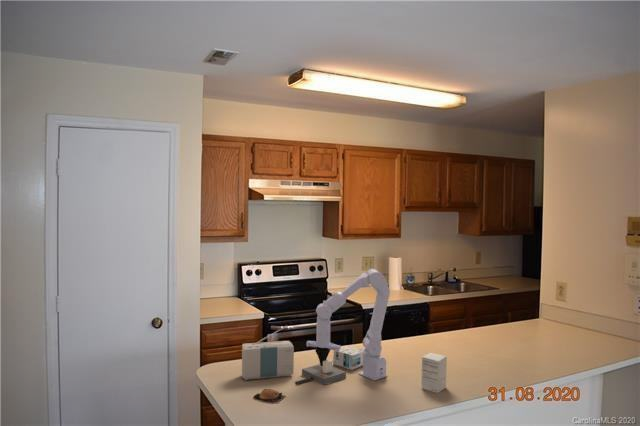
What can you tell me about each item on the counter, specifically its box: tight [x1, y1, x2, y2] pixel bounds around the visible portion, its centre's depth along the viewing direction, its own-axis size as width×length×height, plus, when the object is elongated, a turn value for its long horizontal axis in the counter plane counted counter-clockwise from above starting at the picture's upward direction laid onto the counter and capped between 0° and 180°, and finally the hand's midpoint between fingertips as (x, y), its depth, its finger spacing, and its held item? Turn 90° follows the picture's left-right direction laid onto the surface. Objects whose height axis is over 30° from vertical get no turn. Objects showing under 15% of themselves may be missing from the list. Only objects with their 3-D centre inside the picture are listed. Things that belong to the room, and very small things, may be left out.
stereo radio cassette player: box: [241, 325, 295, 381], centre depth 201 cm, size 21×8×20 cm, turn 105°
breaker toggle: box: [323, 359, 333, 373], centre depth 200 cm, size 2×4×4 cm, turn 130°
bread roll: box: [252, 388, 287, 404], centre depth 180 cm, size 11×8×4 cm
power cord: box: [294, 377, 314, 386], centre depth 195 cm, size 1×8×1 cm, turn 130°
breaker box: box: [301, 363, 347, 386], centre depth 202 cm, size 14×12×2 cm
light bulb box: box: [332, 345, 365, 371], centre depth 216 cm, size 11×7×11 cm
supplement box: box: [421, 352, 447, 394], centre depth 191 cm, size 7×7×13 cm
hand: (322, 365), depth 202 cm, fingers closed
